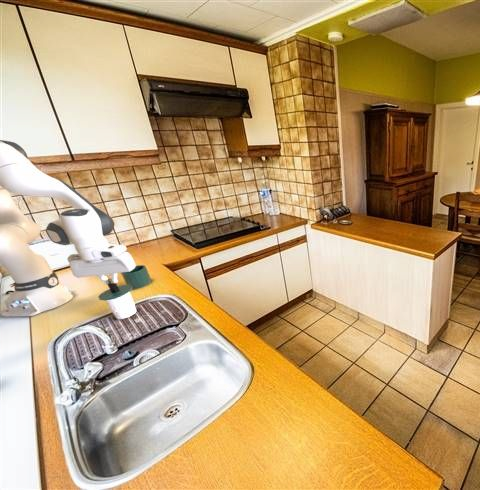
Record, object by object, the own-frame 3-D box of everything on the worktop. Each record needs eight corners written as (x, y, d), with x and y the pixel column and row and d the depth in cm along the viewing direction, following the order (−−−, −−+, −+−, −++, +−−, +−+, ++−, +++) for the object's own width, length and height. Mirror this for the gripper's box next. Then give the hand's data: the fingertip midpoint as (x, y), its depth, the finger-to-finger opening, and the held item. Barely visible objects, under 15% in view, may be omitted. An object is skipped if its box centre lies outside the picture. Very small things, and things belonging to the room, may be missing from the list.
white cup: (124, 321, 107) (113, 300, 103) (109, 319, 109) (98, 299, 105) (143, 309, 114) (133, 289, 110) (128, 307, 116) (119, 288, 112)
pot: (123, 290, 130) (116, 275, 127) (136, 280, 139) (129, 266, 135) (144, 288, 131) (137, 273, 128) (155, 278, 140) (149, 264, 136)
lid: (92, 303, 102) (86, 291, 100) (112, 288, 112) (107, 278, 110) (121, 299, 103) (116, 288, 101) (139, 285, 113) (134, 275, 111)
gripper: (57, 258, 96) (76, 290, 101) (118, 251, 98) (134, 283, 104) (72, 251, 102) (90, 282, 107) (130, 245, 104) (144, 275, 109)
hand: (112, 283), depth 105 cm, fingers closed, pressing on lid
